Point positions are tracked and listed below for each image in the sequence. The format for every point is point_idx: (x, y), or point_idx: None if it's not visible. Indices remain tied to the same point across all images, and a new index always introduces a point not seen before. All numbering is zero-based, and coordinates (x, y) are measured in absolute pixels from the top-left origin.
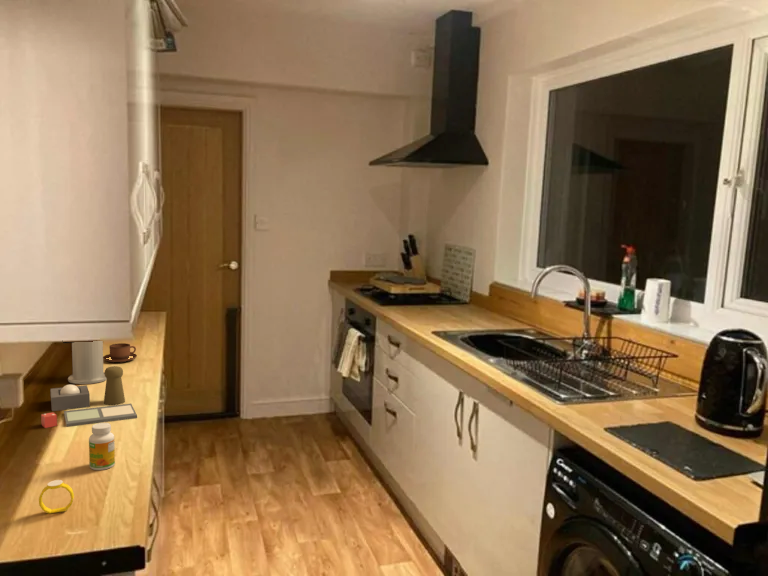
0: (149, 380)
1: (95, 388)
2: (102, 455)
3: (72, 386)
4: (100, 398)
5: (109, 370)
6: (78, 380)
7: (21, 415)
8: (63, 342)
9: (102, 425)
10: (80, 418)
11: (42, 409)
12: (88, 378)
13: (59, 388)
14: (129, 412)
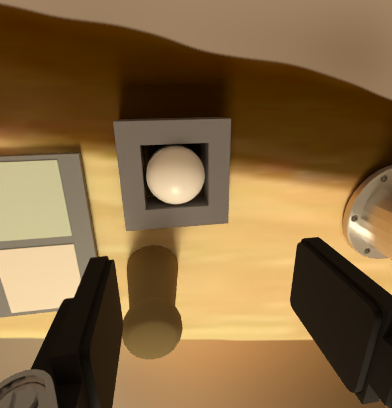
0: (305, 331)
1: (298, 227)
2: None
3: (165, 190)
4: (200, 238)
5: (129, 329)
6: (368, 191)
7: (99, 26)
8: (90, 262)
9: None
10: None
11: (147, 92)
12: (363, 216)
13: (223, 146)
14: (19, 304)
